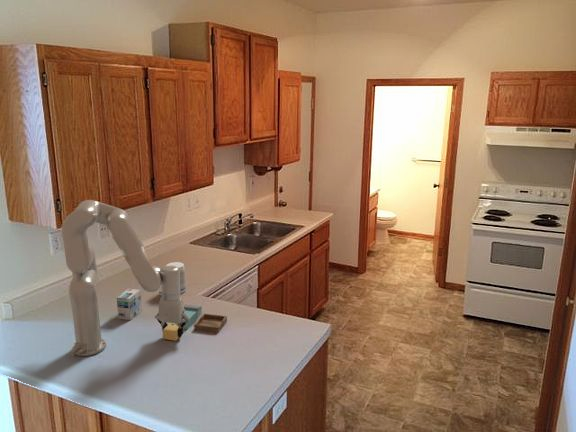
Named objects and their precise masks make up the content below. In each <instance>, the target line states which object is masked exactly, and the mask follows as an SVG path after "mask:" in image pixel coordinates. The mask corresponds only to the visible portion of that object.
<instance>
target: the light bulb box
mask: <svg viewBox="0 0 576 432" xmlns="http://www.w3.org/2000/svg"><path fill="white" fill-rule="evenodd" d="M142 304H143V303H142V292H141V289H135V288H133V289H132V288H127V289H126V290H124V291H123V292H122V293H120V295H118V296H116V305H117V317H118V319H120V320H128V321H132V320H133V319H134V318H136V316H137V315H139V314H140V313H141V312H142V311H143V305H142Z"/></svg>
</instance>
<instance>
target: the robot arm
mask: <svg viewBox="0 0 576 432" xmlns="http://www.w3.org/2000/svg"><path fill="white" fill-rule="evenodd" d="M94 224H100V225H103V226H105V227H106V230H107V231H108V233H109V235H110V237H111V238H112V239H113V241H114V242H115V244H116V246H117V247H118V249H119V250H120V253H122V255H123V257H124V259H125V261H126V263H127V265H128V266H129V269H130V270H131V272H132V274H133V276H134V278H135V279H136V280H137V282H138V284H139V285H140V287H141V289H143V290H144V291H146V292H148V293H154V292H157V291H158V290H159V288H160V287H161V291H159V292H158V295H159V296H161V297H160V298H159V302H158V303H159V304H158V312H157V314H156V315H155V316H154V318H155V320H156V321H157V322H158V323H159V324H160V326H161V330H162V333H163V329H165V328H166V327H167V326H168V325H169V324H175V323H176V324H178V327H179V328H178V337H179V338H181V336H182V335H183V334H184V329H183V326H184V325H185V324H187V323H188V322H189V321H190V319H189V318H188V317H187V316H186V315H185V312H184V310H185V309H184V306H185V304H184V301H183V297H181V294H180V272H179V268H178V267H176V266H166V265H165V266H157V265H152V264H151V262H150V260H149V258H148V255H147V252H146V248H145V246H144V243H143V241H142V240H141V238H140V236H139V235H138V234H137V231H136V230H135V229H134V227H133V225H132V223H131V222H130V217H129V214H128V212H127V211H125V210H124V209H122V208H119V207H116V206H113V205H110V204H106V203H103V202H100V201H99V200H98V201H97V200H94V199H85V200H83V201H81V202H80V203H79V204H78V205H77V207H76V208H75V210H72V212H70V213H69V214H68V215H67V216H66V217H65V218H64V220H63V223H62V224H61V235H62V236H61V237H62V242H63V248H64V249H63V250H64V256H65V263H66V267H67V269H68V270H69V271H71V274H72V278H71V281H70V284H69V287H68V294H69V295H68V296H69V300H70V305H71V313H72V323H73V331H74V339H75V343H73V344H74V345H73V346H72V348H71V350H69V351H68V354H69V355H70V356H74V355H75V356H79V357H90V356H93V355H96V354H99V353H100V352H101V353H102V351H103V350H105V348H106V347H107V342H106V341H105V340H104V339H102V333H101V332H102V331H101V323H100V310H99V301H98V295H97V287H98V282H99V273H98V267H97V259H96V254H95V251H94V248H93V247H92V246H91V245H90V244H89V241H88V240H89V239H88V235H87V234H88V233H87V230H88V229H89V228H90V227H92V226H93V225H94ZM182 319H184V320H185V321H184V322H183V320H182Z"/></svg>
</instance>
